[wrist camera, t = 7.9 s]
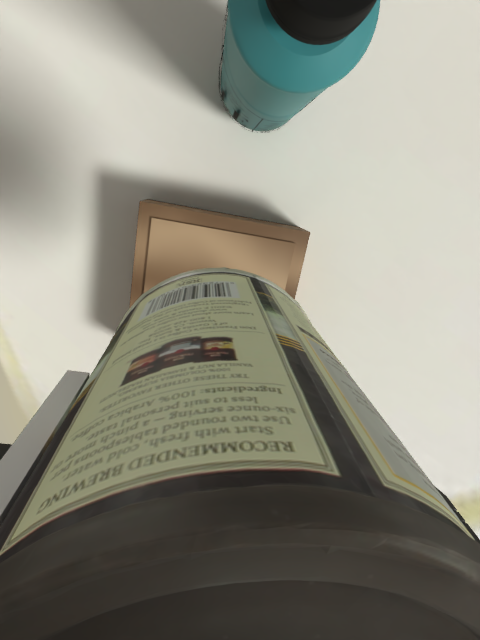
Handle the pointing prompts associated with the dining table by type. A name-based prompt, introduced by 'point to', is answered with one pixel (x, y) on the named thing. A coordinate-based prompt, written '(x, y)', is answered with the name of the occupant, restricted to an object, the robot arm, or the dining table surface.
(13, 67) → the dining table surface
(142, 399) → the coffee can
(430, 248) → the dining table surface
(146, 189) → the dining table surface
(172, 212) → the walnut base
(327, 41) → the beverage bottle
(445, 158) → the dining table surface
